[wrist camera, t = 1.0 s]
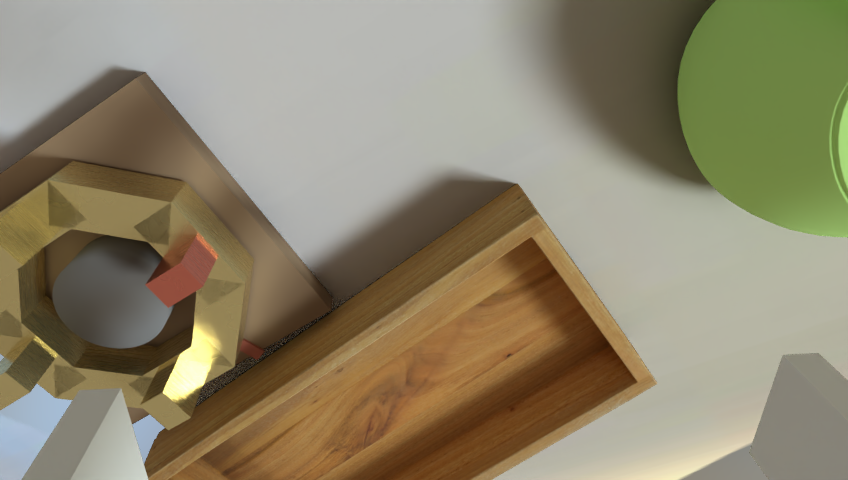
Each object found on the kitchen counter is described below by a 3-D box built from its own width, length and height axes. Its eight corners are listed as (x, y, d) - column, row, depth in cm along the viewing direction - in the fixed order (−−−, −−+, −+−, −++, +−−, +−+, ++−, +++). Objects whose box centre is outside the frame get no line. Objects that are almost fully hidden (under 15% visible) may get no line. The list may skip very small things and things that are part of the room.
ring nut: (-59, 252, 33) (-139, 309, 28) (132, 120, 31) (84, 156, 26) (124, 408, 39) (86, 479, 34) (296, 307, 37) (284, 368, 32)
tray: (516, 178, 36) (539, 217, 31) (626, 335, 43) (661, 388, 38) (160, 422, 43) (131, 487, 38) (300, 528, 49) (292, 595, 44)
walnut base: (-80, 231, 34) (-136, 267, 31) (145, 72, 31) (114, 90, 28) (136, 415, 42) (113, 463, 38) (335, 301, 39) (331, 341, 35)
